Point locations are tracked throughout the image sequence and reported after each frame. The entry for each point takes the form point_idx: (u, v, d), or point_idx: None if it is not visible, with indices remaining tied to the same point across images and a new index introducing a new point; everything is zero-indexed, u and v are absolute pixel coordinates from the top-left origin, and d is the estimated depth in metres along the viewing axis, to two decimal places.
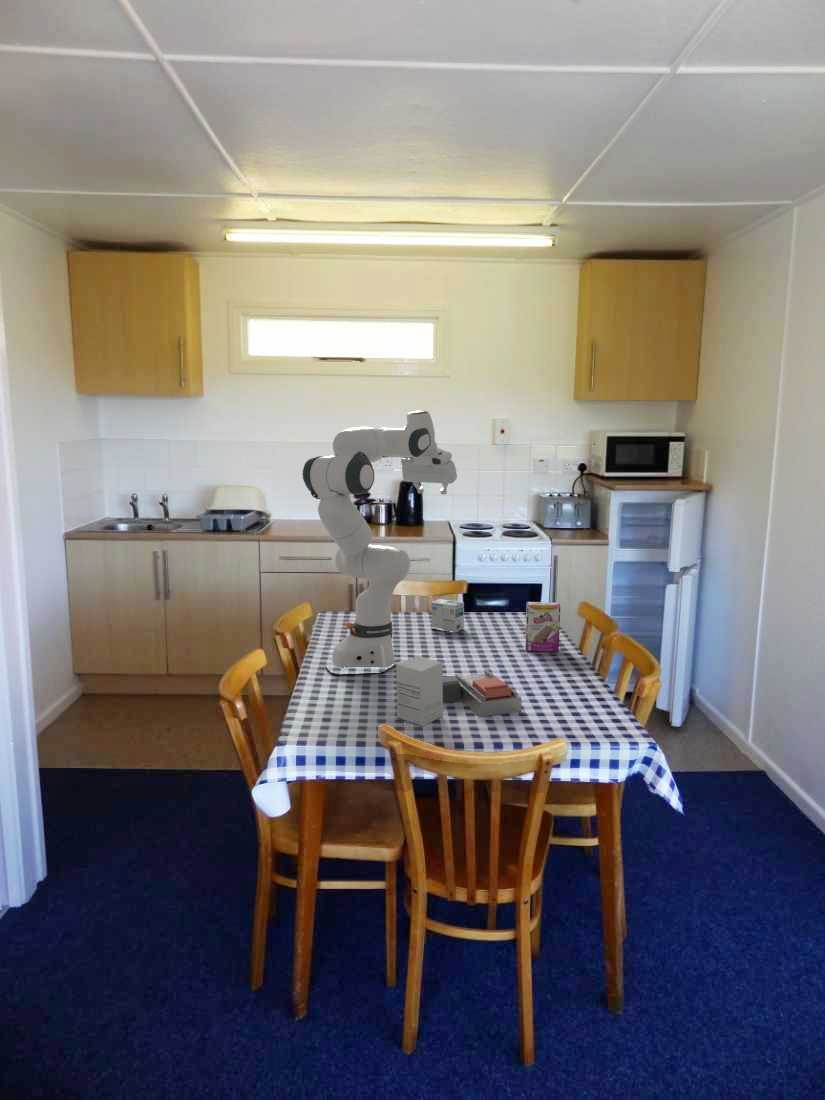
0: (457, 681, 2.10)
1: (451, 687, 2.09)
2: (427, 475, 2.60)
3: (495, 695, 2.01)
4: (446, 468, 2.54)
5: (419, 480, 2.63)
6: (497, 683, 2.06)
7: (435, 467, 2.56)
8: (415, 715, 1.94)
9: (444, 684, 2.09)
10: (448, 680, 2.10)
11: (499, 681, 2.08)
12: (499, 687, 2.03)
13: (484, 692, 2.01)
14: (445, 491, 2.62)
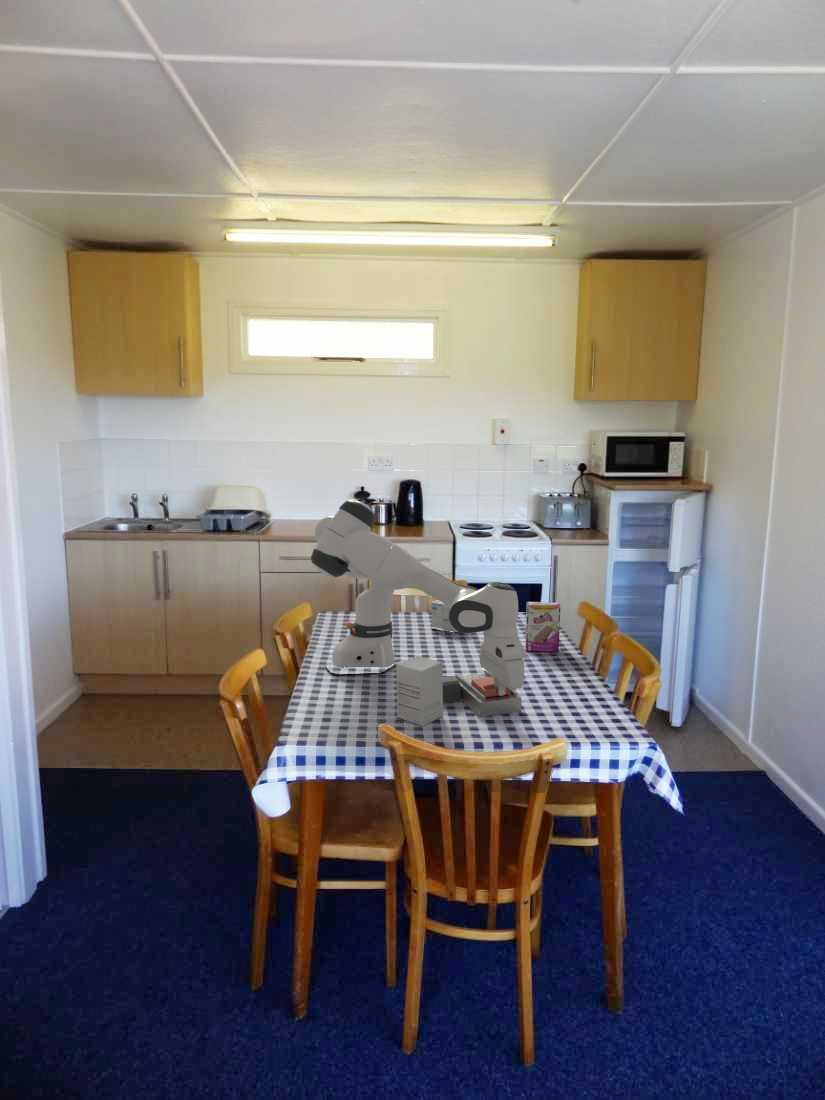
0: (457, 681, 2.10)
1: (451, 686, 2.09)
2: (494, 668, 1.99)
3: (494, 694, 2.02)
4: (506, 666, 1.90)
5: (489, 671, 2.03)
6: None
7: (499, 661, 1.94)
8: (415, 715, 1.94)
9: (444, 684, 2.09)
10: (448, 680, 2.10)
11: None
12: None
13: (482, 691, 2.02)
14: (502, 692, 2.00)
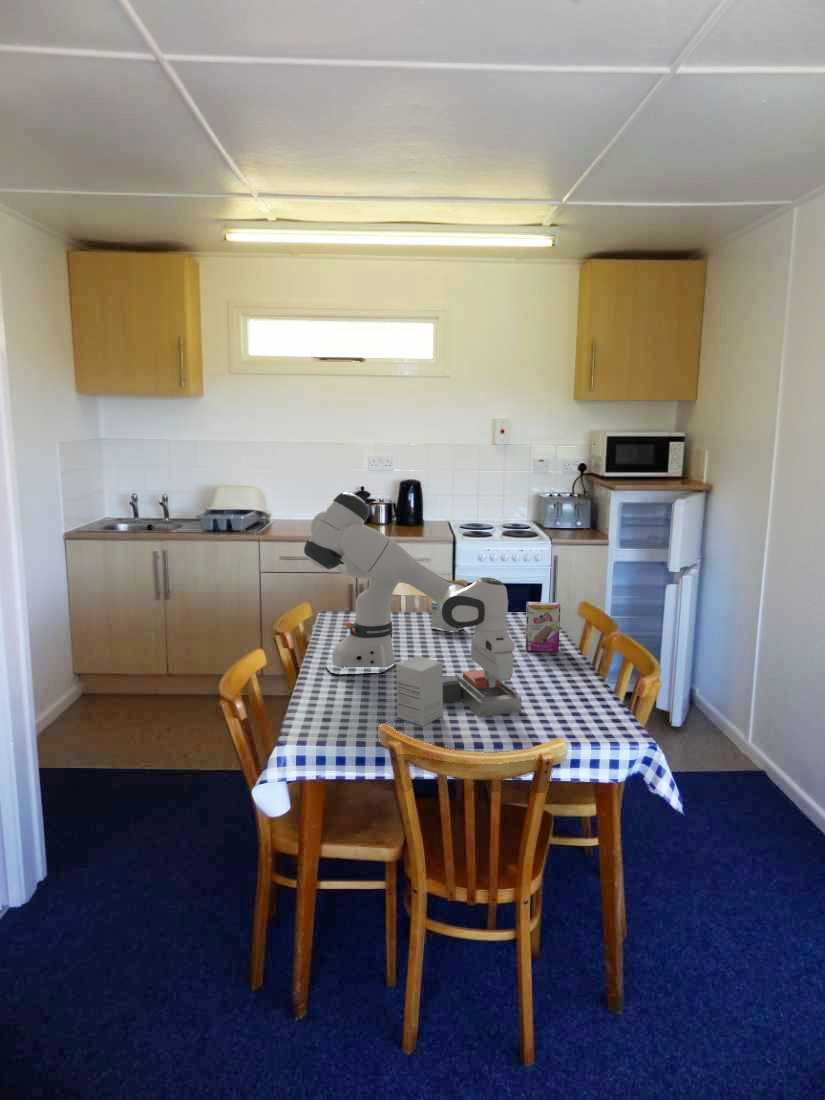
0: (457, 681, 2.10)
1: (451, 686, 2.09)
2: (485, 660, 2.05)
3: (484, 686, 2.08)
4: (496, 659, 1.96)
5: (479, 664, 2.09)
6: None
7: (489, 653, 2.00)
8: (415, 715, 1.94)
9: (444, 684, 2.09)
10: (448, 680, 2.10)
11: None
12: None
13: (473, 683, 2.08)
14: (492, 684, 2.06)
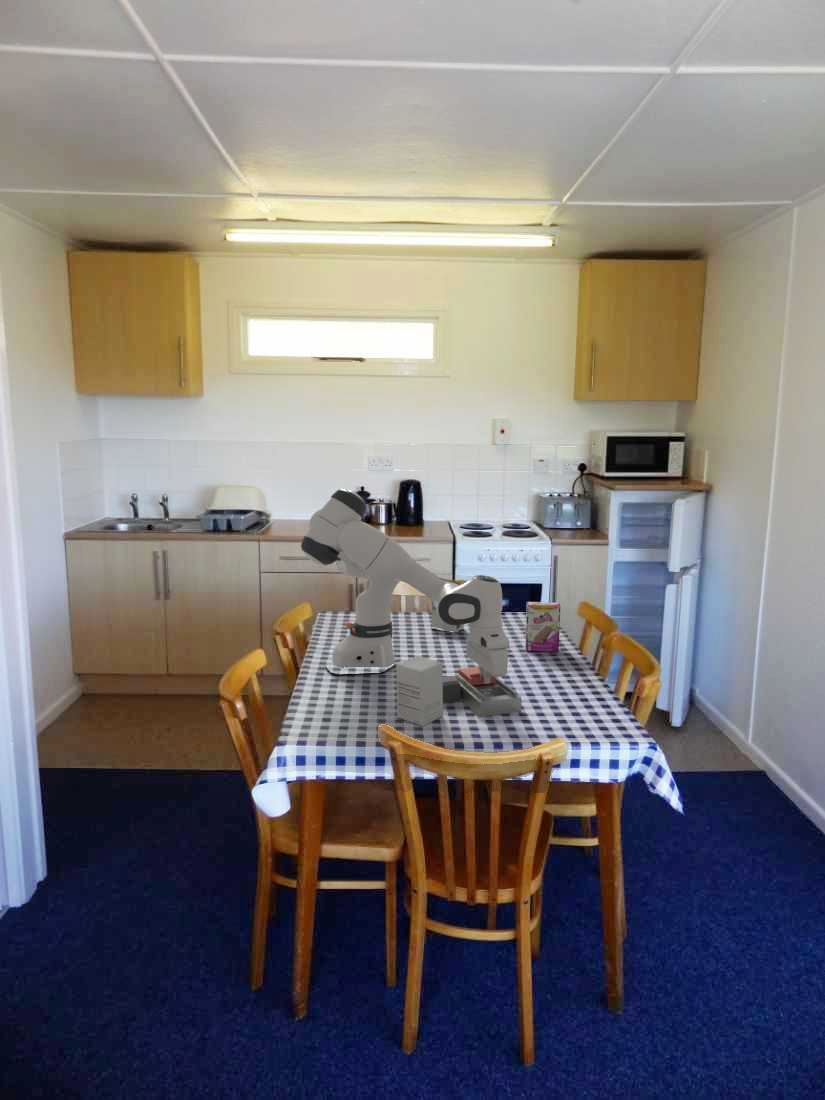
0: (457, 681, 2.10)
1: (451, 686, 2.09)
2: (480, 657, 2.08)
3: (480, 682, 2.11)
4: (490, 655, 1.99)
5: (475, 660, 2.12)
6: None
7: (484, 650, 2.03)
8: (415, 715, 1.94)
9: (444, 684, 2.09)
10: (448, 680, 2.10)
11: None
12: None
13: (469, 680, 2.11)
14: (487, 680, 2.09)
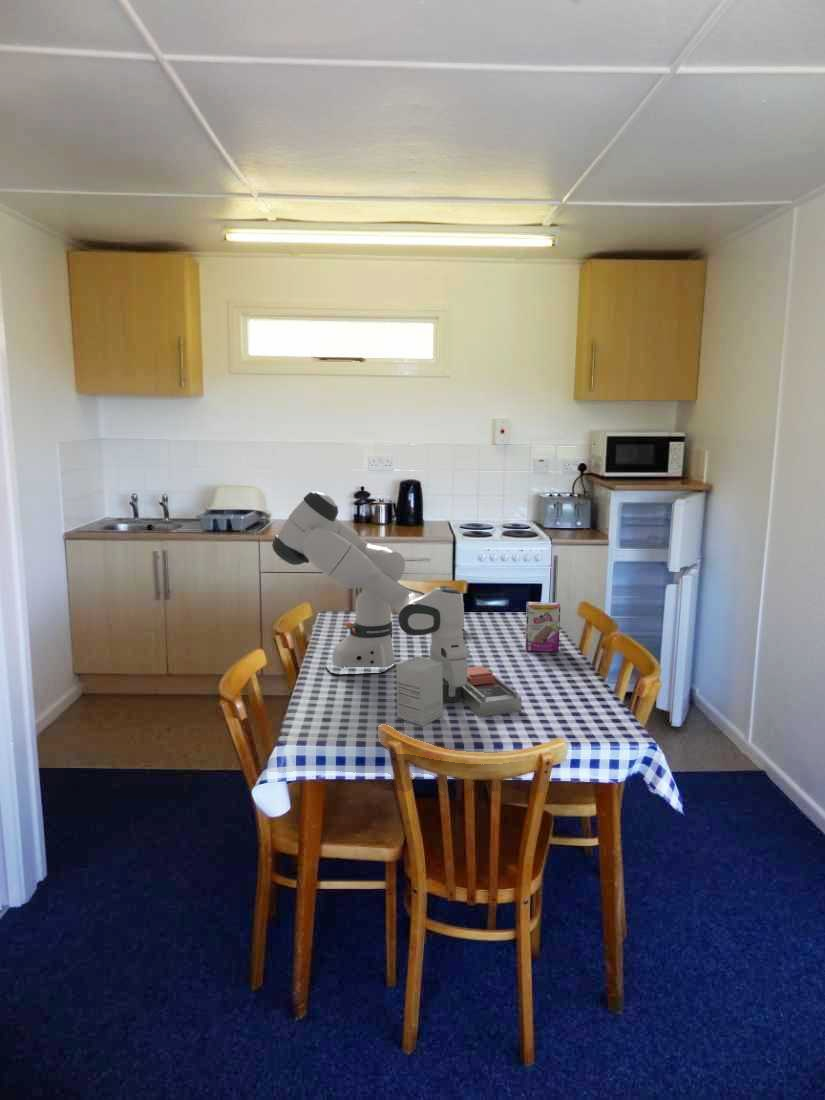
0: None
1: None
2: None
3: (479, 682, 2.11)
4: (450, 666, 2.01)
5: None
6: (482, 671, 2.16)
7: (445, 660, 2.05)
8: (415, 715, 1.94)
9: (444, 684, 2.09)
10: None
11: (484, 669, 2.18)
12: (483, 675, 2.12)
13: (469, 679, 2.11)
14: (452, 693, 2.08)
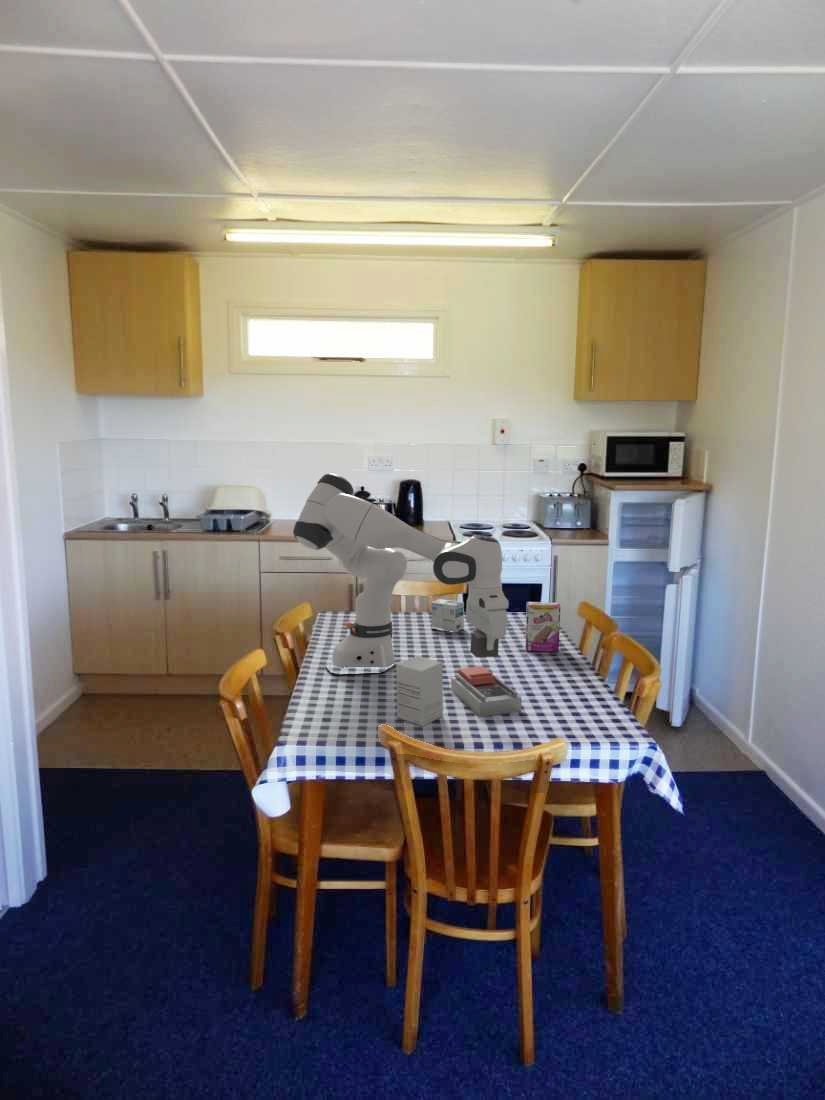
0: None
1: None
2: (479, 620, 2.01)
3: (479, 682, 2.11)
4: (489, 616, 1.93)
5: (474, 624, 2.05)
6: (482, 671, 2.16)
7: (483, 611, 1.97)
8: (415, 715, 1.94)
9: (482, 637, 2.00)
10: None
11: (484, 669, 2.18)
12: (483, 675, 2.12)
13: (469, 679, 2.11)
14: (490, 646, 2.00)
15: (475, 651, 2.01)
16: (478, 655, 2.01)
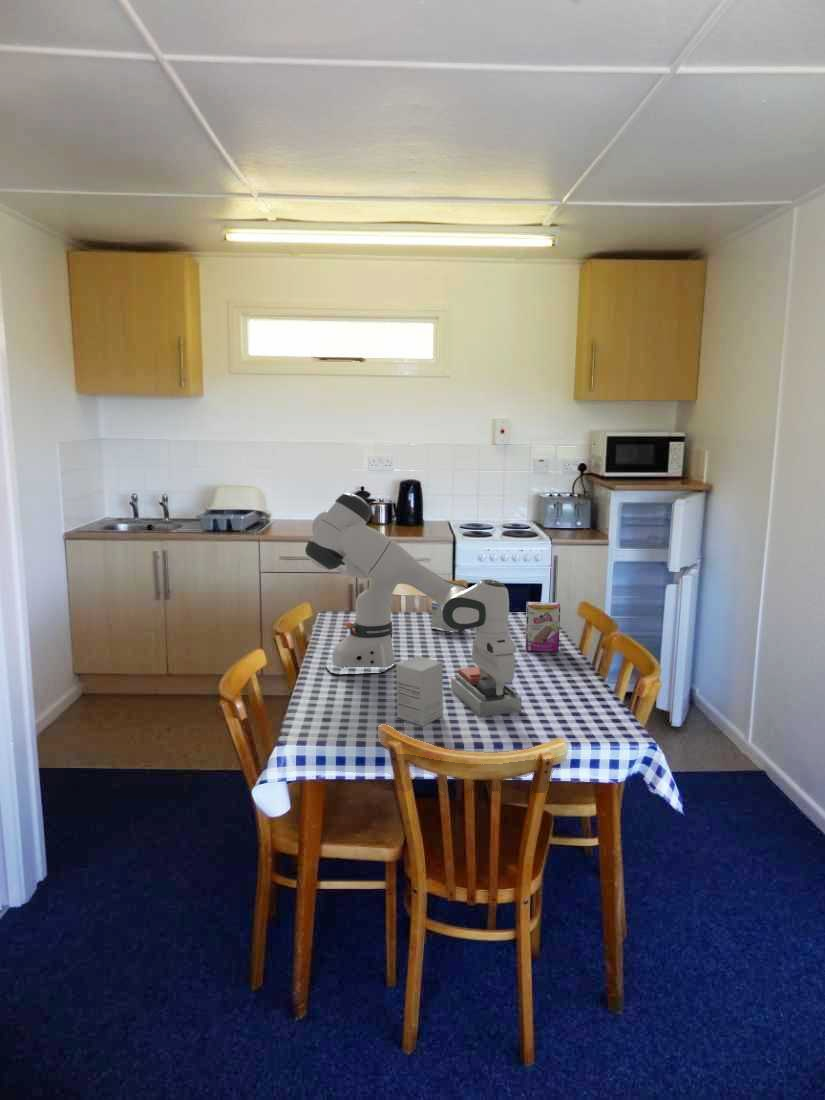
0: None
1: None
2: (486, 663, 2.04)
3: None
4: (497, 661, 1.95)
5: (480, 666, 2.07)
6: None
7: (491, 656, 1.99)
8: (415, 715, 1.94)
9: (488, 687, 2.03)
10: (492, 682, 2.05)
11: None
12: None
13: (469, 679, 2.11)
14: (499, 691, 2.01)
15: None
16: None
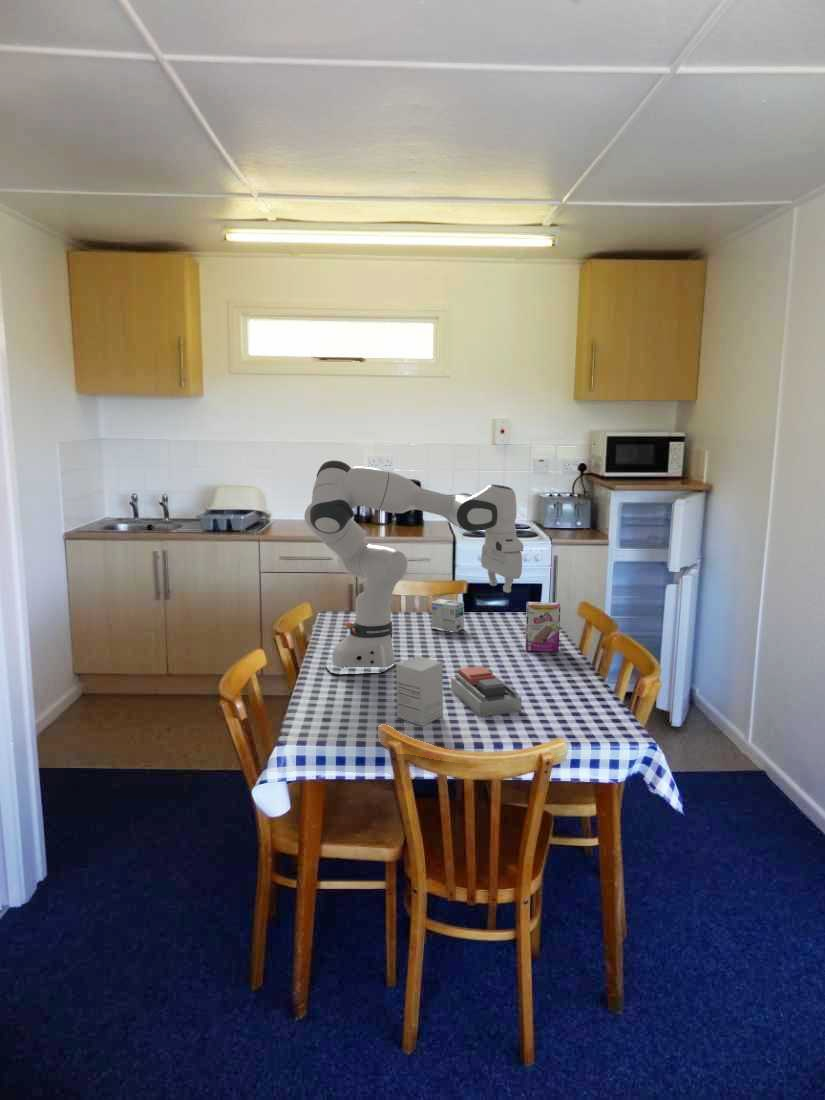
0: (501, 684, 2.04)
1: (496, 690, 2.04)
2: (495, 563, 2.16)
3: None
4: (506, 558, 2.08)
5: (489, 568, 2.20)
6: (482, 671, 2.16)
7: (499, 555, 2.12)
8: (415, 715, 1.94)
9: (488, 687, 2.03)
10: (492, 682, 2.05)
11: (484, 669, 2.18)
12: (483, 675, 2.12)
13: (469, 679, 2.11)
14: (508, 589, 2.13)
15: None
16: None
